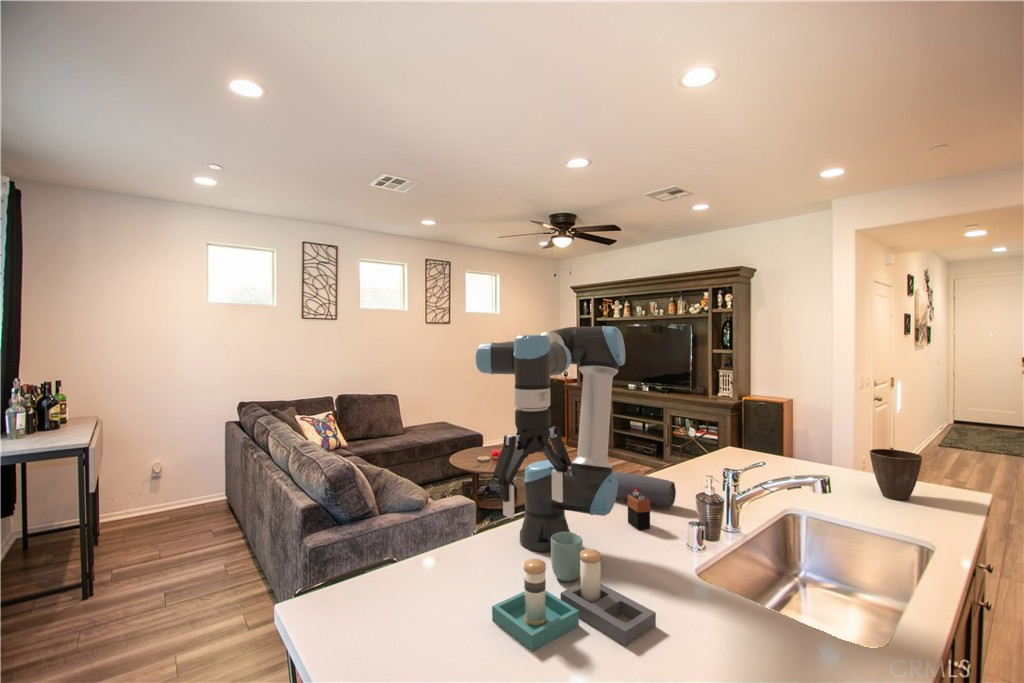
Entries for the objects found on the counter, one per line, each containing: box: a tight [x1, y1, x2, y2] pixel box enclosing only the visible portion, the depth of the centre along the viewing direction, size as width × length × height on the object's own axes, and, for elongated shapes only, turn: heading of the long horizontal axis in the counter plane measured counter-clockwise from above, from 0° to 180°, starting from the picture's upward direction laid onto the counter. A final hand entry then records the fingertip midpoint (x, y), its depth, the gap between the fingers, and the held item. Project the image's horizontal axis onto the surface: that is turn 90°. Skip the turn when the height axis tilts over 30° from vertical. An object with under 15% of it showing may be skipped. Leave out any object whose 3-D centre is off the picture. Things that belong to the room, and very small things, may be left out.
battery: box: [627, 492, 651, 531], centre depth 151 cm, size 4×7×10 cm, turn 16°
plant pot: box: [869, 448, 923, 501], centre depth 173 cm, size 15×15×16 cm
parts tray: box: [491, 589, 580, 652], centre depth 101 cm, size 13×13×3 cm
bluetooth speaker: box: [612, 471, 677, 507], centre depth 171 cm, size 23×9×10 cm, turn 55°
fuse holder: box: [560, 582, 657, 648], centre depth 103 cm, size 18×10×3 cm, turn 38°
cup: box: [550, 531, 584, 583], centre depth 120 cm, size 8×8×10 cm
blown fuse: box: [523, 558, 547, 627], centre depth 101 cm, size 5×5×12 cm
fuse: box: [580, 548, 602, 604], centre depth 107 cm, size 5×5×12 cm
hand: (534, 508), depth 101 cm, fingers open, 13 cm apart
